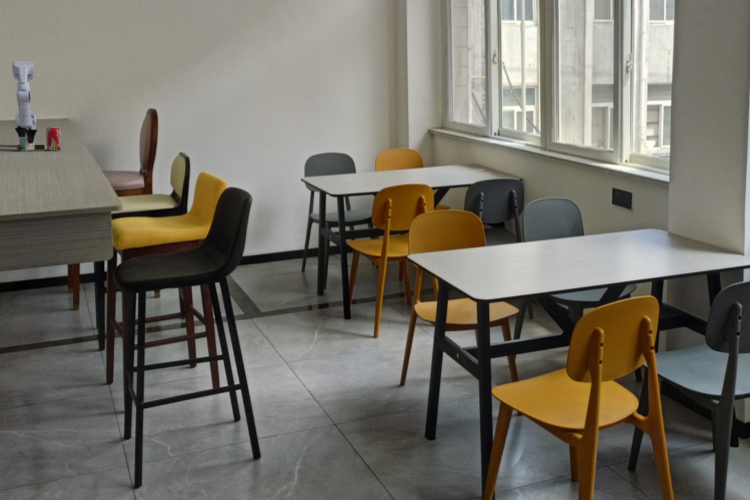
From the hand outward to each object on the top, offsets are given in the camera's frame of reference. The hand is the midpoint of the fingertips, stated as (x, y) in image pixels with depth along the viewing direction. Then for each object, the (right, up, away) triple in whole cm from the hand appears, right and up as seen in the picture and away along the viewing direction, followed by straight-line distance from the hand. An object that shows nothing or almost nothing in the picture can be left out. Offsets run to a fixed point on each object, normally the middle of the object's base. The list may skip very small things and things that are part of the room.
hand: (26, 142), depth 387 cm
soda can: (+11, -3, +7) cm, 13 cm away
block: (0, -3, +1) cm, 3 cm away
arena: (+1, -4, +2) cm, 4 cm away
